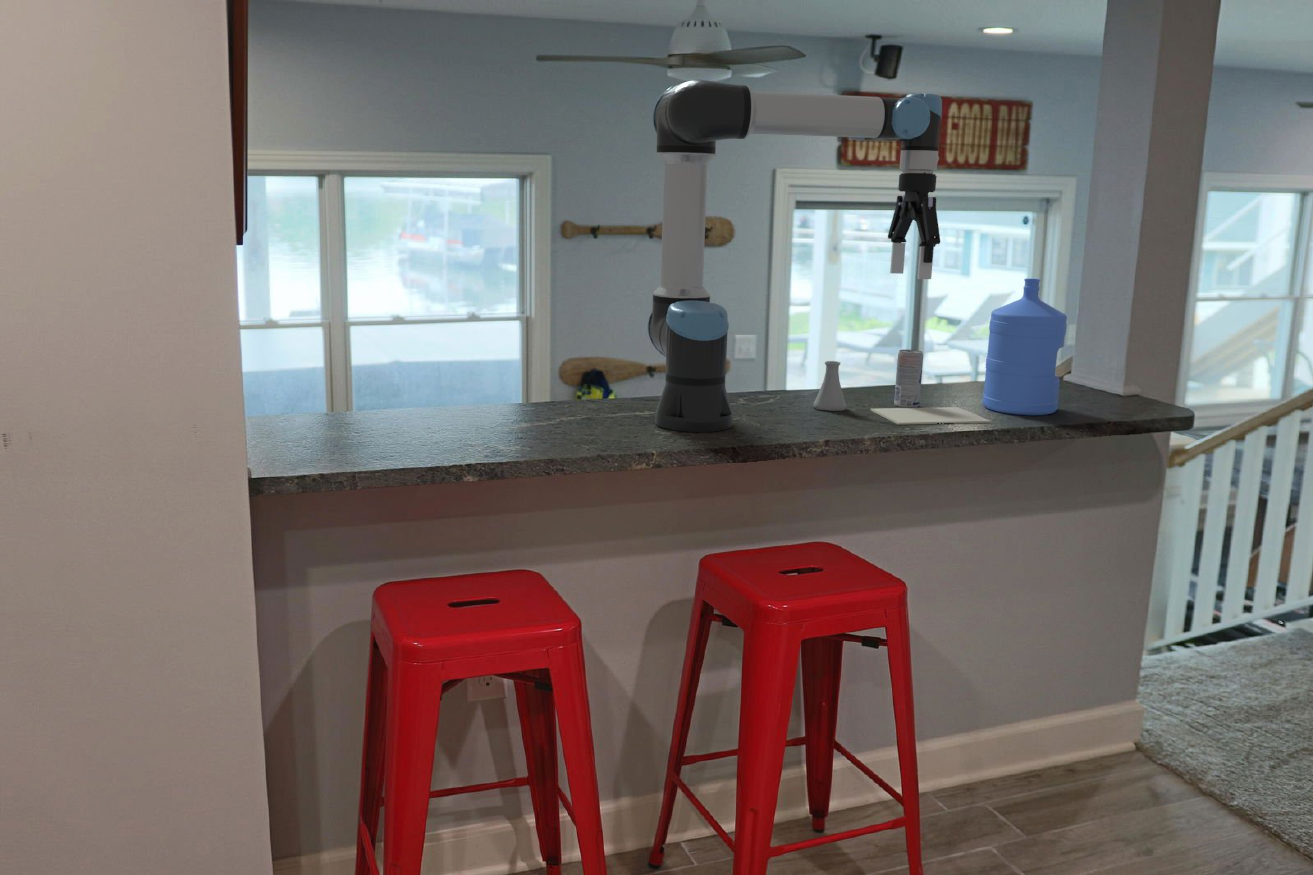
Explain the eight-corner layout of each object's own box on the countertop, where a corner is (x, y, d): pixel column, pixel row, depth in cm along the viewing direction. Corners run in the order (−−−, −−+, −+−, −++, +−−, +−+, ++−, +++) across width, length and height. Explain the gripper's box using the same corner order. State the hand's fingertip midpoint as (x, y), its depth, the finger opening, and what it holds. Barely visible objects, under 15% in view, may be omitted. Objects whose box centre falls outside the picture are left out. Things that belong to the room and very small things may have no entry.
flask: (845, 406, 238) (848, 360, 236) (848, 412, 231) (851, 365, 229) (812, 404, 239) (814, 358, 237) (813, 411, 232) (816, 364, 230)
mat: (898, 424, 221) (898, 422, 220) (870, 410, 234) (870, 408, 234) (989, 422, 225) (989, 420, 225) (957, 408, 238) (957, 407, 238)
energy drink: (918, 404, 242) (922, 350, 239) (919, 409, 237) (924, 353, 234) (893, 403, 243) (897, 348, 240) (894, 407, 238) (898, 352, 235)
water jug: (1013, 418, 230) (1027, 282, 224) (966, 403, 244) (978, 276, 238) (1073, 414, 236) (1088, 282, 229) (1024, 400, 250) (1037, 275, 244)
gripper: (963, 172, 217) (954, 281, 221) (909, 173, 240) (901, 271, 245) (927, 171, 215) (919, 281, 220) (877, 172, 239) (870, 271, 244)
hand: (910, 276), depth 232 cm, fingers open, 13 cm apart
